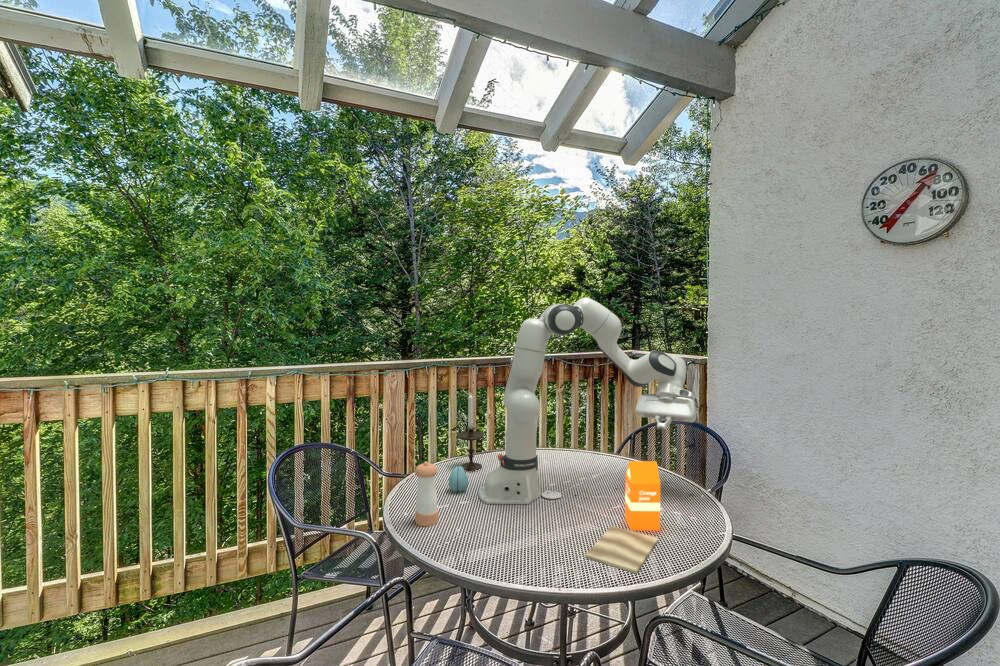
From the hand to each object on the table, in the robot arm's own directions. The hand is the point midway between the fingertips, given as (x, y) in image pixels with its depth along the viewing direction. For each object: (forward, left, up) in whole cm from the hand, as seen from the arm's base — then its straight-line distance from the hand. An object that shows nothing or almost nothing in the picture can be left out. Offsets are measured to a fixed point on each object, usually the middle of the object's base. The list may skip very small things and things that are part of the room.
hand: (661, 428), depth 162 cm
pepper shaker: (-80, -1, -26) cm, 84 cm away
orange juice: (-14, -15, -26) cm, 33 cm away
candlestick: (-61, +45, -26) cm, 80 cm away
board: (-26, -28, -26) cm, 46 cm away
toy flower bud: (-68, +24, -26) cm, 77 cm away
